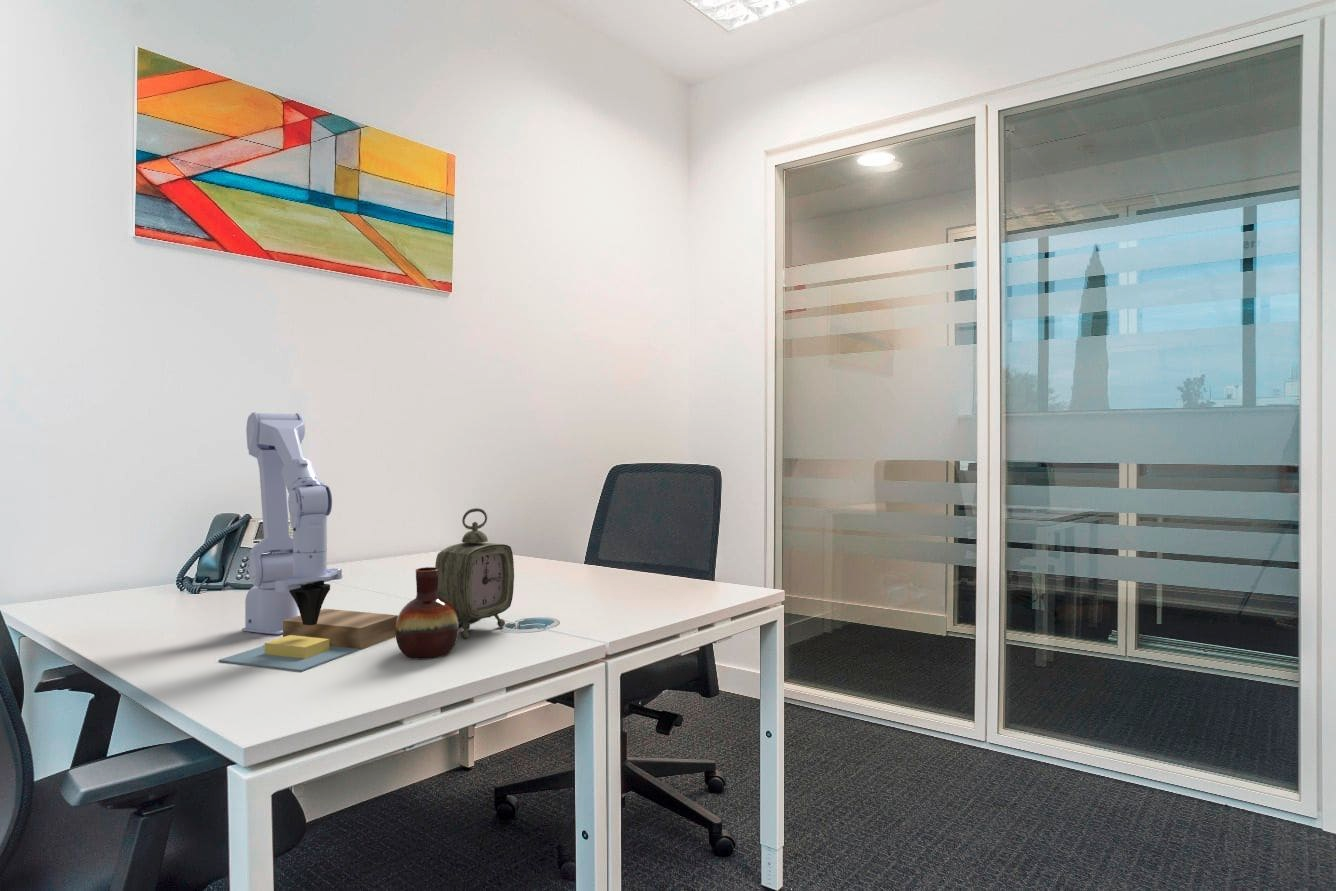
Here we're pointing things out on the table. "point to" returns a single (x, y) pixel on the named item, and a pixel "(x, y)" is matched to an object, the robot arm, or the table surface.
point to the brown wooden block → (345, 628)
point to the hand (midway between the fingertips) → (309, 624)
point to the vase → (426, 620)
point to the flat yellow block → (297, 646)
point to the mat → (286, 659)
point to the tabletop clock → (476, 576)
